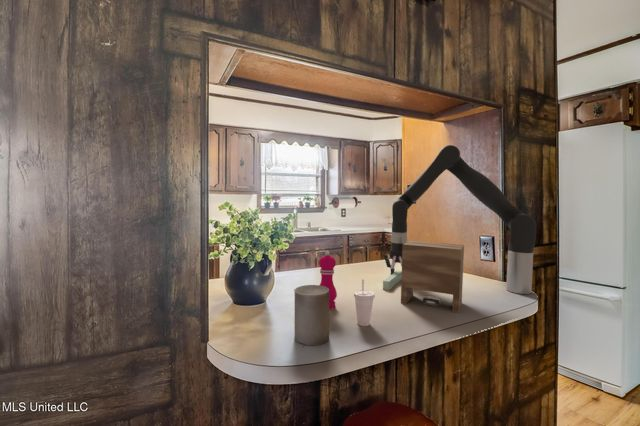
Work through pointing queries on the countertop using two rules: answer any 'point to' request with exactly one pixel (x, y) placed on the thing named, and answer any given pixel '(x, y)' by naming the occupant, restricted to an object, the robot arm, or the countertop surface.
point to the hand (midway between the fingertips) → (397, 276)
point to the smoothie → (363, 305)
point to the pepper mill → (328, 276)
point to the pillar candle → (311, 314)
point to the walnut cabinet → (432, 270)
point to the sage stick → (392, 280)
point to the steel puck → (431, 300)
